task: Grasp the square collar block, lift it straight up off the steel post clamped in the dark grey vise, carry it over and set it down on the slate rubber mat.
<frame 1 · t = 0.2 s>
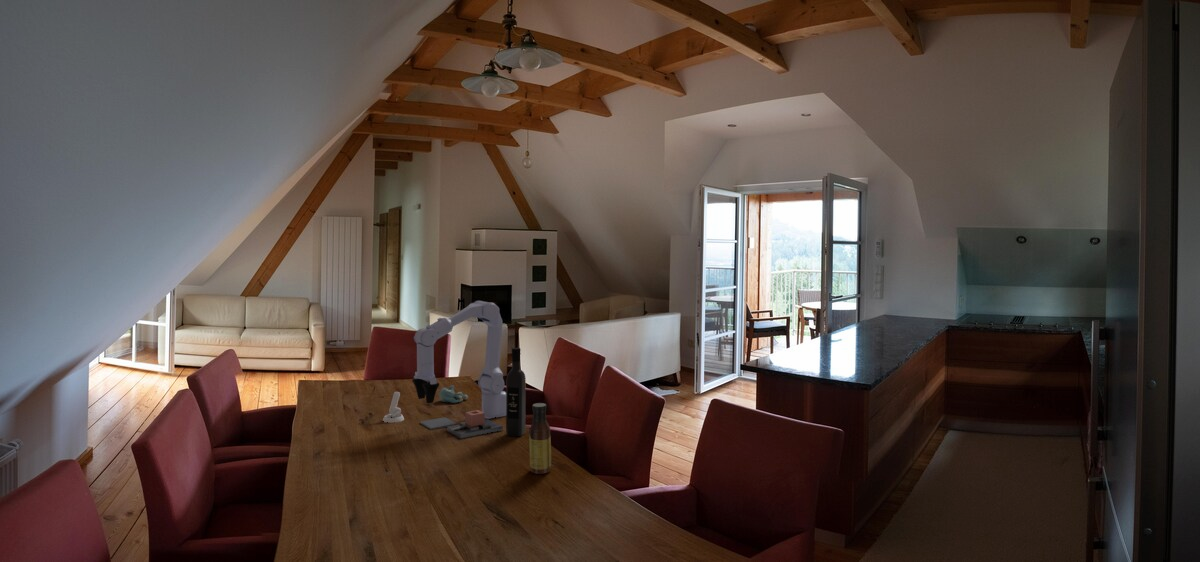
hand: (425, 400, 228), 10 cm above the table, tool pointing down, fingers open, 7 cm apart
collar block: (474, 423, 226), point 2 cm above the table, touching vise
stuffed animal: (453, 401, 267), on the table
sauce bottle: (539, 472, 187), on the table
wine bottle: (515, 434, 223), on the table
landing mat: (438, 424, 234), on the table
vise: (474, 430, 226), on the table
hook: (393, 420, 239), on the table
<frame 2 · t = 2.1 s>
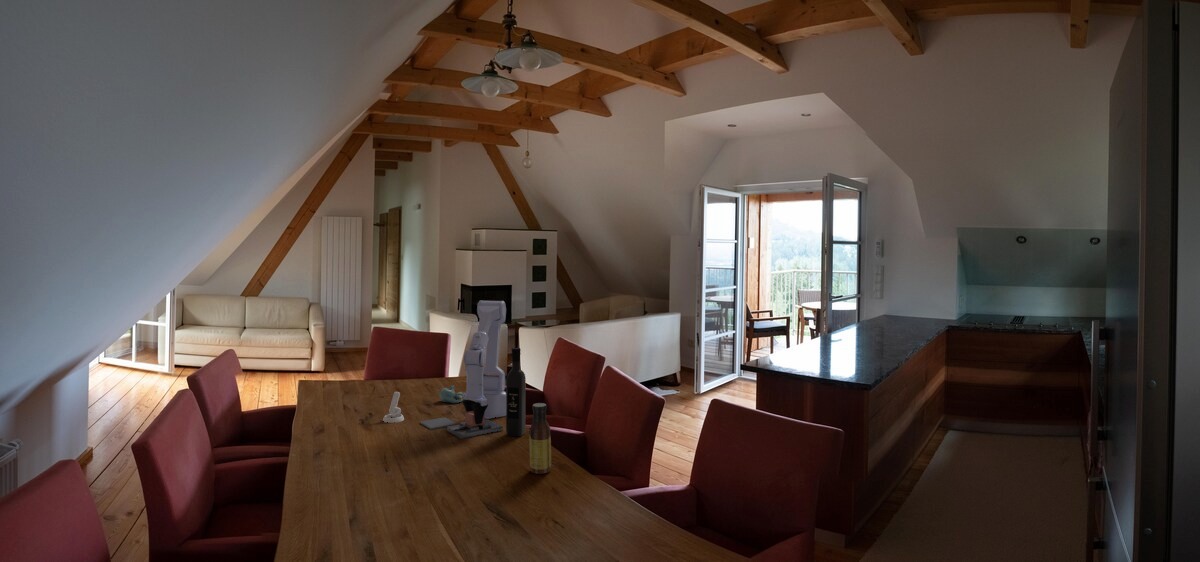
hand: (474, 421, 226), 3 cm above the table, tool pointing down, fingers closed on collar block, 5 cm apart
collar block: (474, 423, 226), point 2 cm above the table, touching gripper, vise
everything else where it was.
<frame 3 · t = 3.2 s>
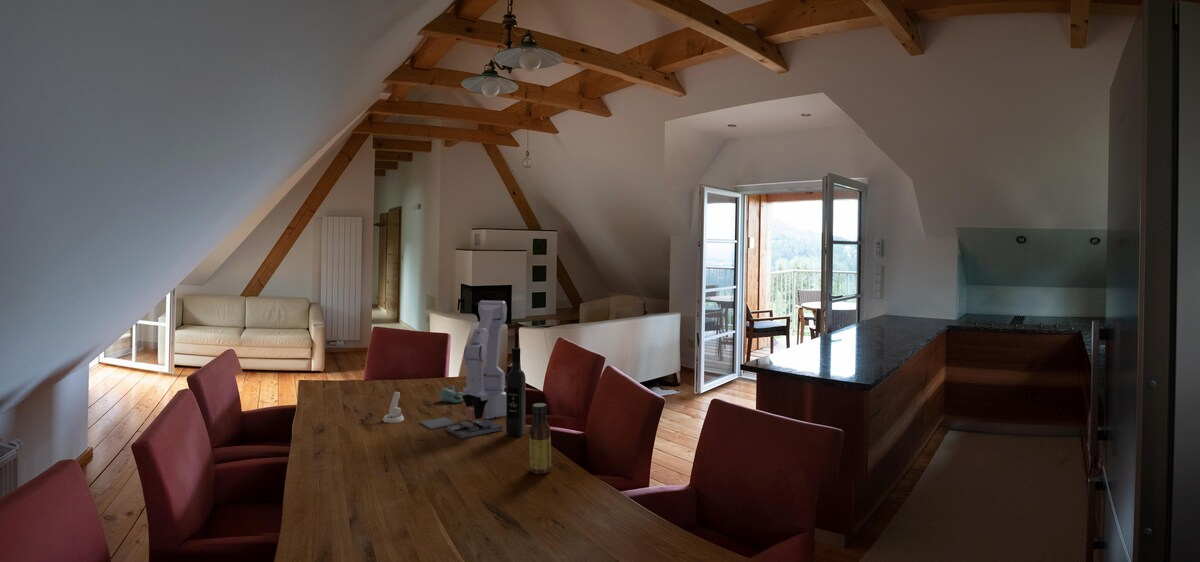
hand: (474, 416, 226), 5 cm above the table, tool pointing down, fingers closed on collar block, 5 cm apart
collar block: (474, 418, 226), point 4 cm above the table, touching gripper
everything else where it was.
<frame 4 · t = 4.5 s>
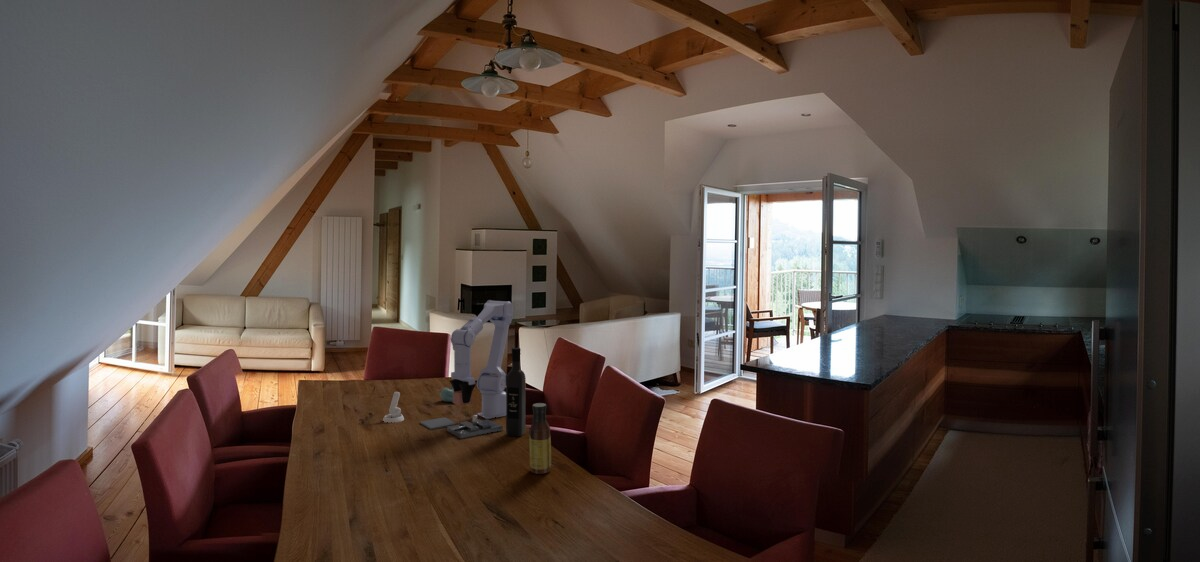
hand: (462, 401, 228), 10 cm above the table, tool pointing down, fingers closed on collar block, 5 cm apart
collar block: (462, 403, 228), point 9 cm above the table, touching gripper
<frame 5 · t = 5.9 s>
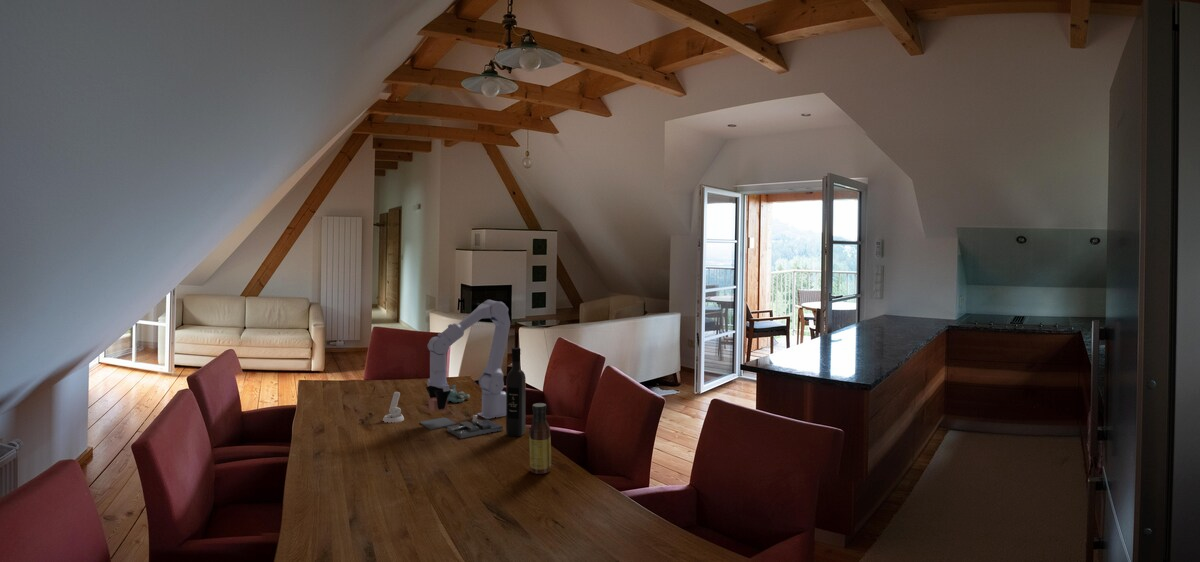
hand: (438, 407, 233), 6 cm above the table, tool pointing down, fingers closed on collar block, 5 cm apart
collar block: (438, 409, 233), point 5 cm above the table, touching gripper
when the fingers open (3 cm above the table, at t = 7.0 s): collar block drops 2 cm, resting on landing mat.
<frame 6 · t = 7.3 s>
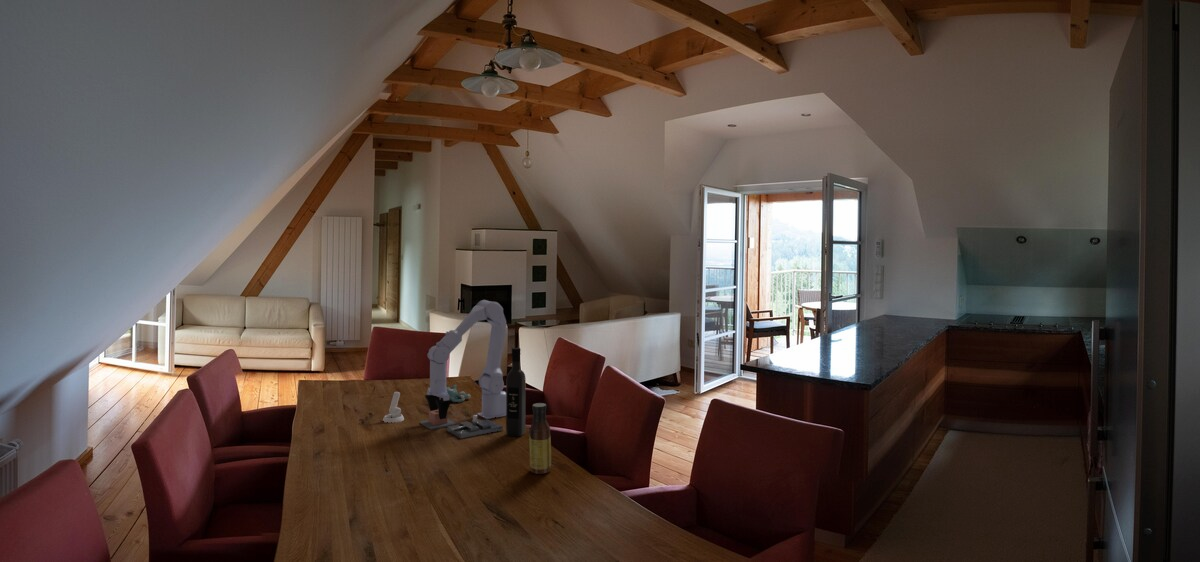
hand: (438, 416, 234), 3 cm above the table, tool pointing down, fingers open, 7 cm apart
collar block: (438, 422, 234), point 1 cm above the table, touching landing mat
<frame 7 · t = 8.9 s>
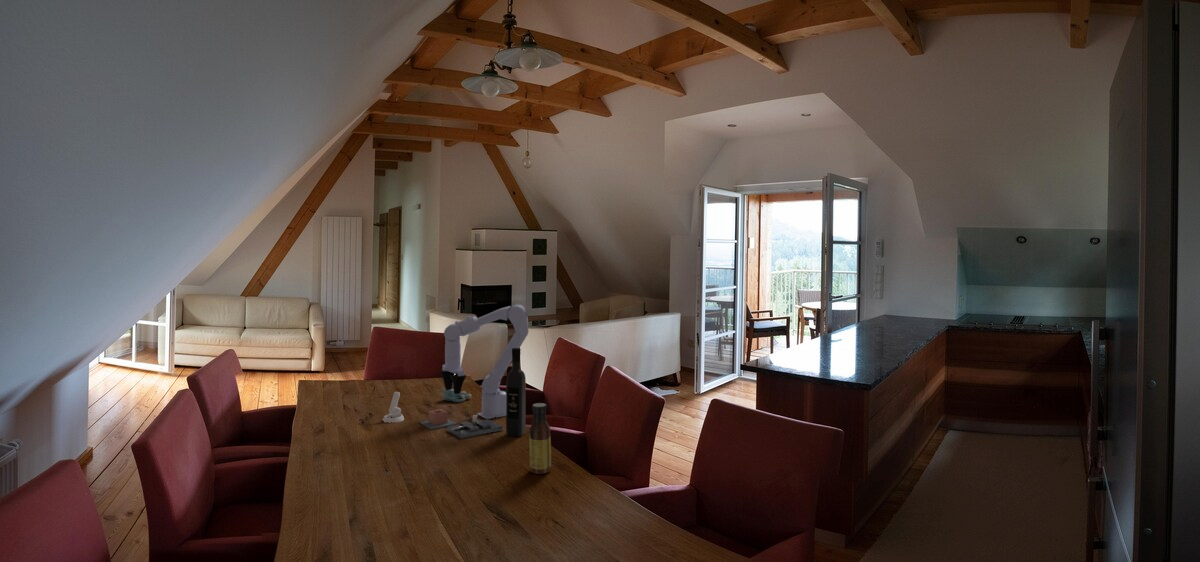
hand: (452, 391, 244), 9 cm above the table, tool pointing down, fingers open, 7 cm apart
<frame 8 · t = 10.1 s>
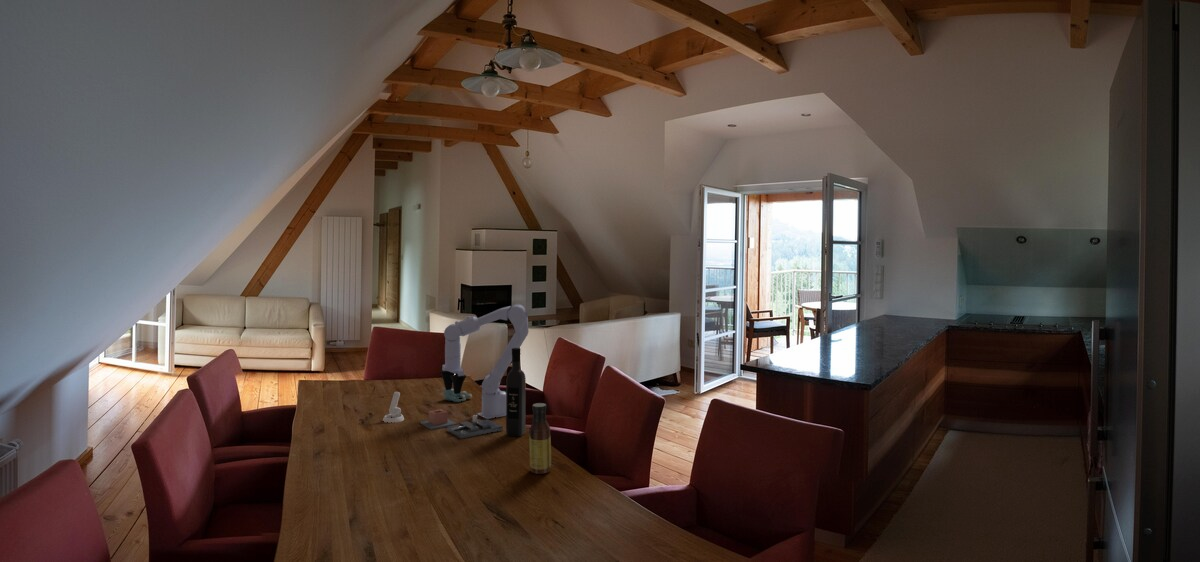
hand: (452, 391, 244), 9 cm above the table, tool pointing down, fingers open, 7 cm apart
at the end: collar block inside the target area on the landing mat (0.1 cm from its centre), point 0.6 cm above the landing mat's base; collar block tilted 0°; the gripper is holding nothing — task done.
